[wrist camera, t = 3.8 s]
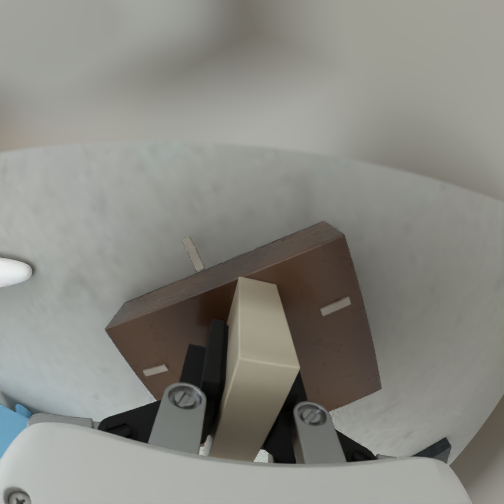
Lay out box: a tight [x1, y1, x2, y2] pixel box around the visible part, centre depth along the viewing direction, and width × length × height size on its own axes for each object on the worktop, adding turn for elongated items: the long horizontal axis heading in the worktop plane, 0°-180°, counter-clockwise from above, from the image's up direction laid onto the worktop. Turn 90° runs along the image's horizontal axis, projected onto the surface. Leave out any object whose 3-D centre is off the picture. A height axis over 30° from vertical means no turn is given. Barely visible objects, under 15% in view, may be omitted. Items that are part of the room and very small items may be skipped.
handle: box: [203, 277, 300, 462], centre depth 10 cm, size 6×2×6 cm, turn 166°
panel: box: [105, 221, 382, 447], centre depth 14 cm, size 12×12×3 cm
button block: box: [412, 438, 451, 463], centre depth 22 cm, size 10×8×4 cm
